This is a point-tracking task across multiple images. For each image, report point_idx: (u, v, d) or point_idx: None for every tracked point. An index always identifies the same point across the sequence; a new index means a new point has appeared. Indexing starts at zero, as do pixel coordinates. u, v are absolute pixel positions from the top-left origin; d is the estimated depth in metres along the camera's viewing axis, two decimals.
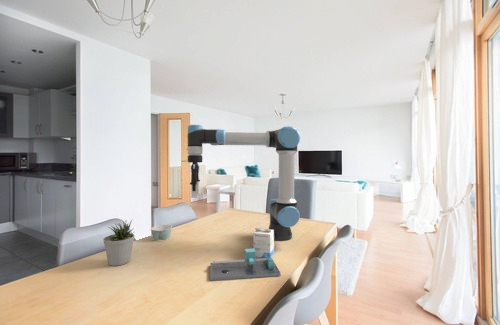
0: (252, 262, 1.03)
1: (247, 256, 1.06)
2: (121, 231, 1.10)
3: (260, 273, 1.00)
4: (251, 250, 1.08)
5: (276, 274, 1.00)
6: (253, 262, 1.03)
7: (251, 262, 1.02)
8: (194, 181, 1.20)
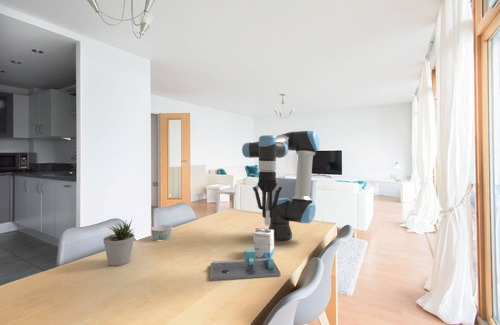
0: (252, 262, 1.03)
1: (247, 256, 1.06)
2: (121, 231, 1.10)
3: (260, 273, 1.00)
4: (251, 250, 1.08)
5: (276, 274, 1.00)
6: (253, 262, 1.03)
7: (251, 262, 1.02)
8: (259, 206, 1.08)
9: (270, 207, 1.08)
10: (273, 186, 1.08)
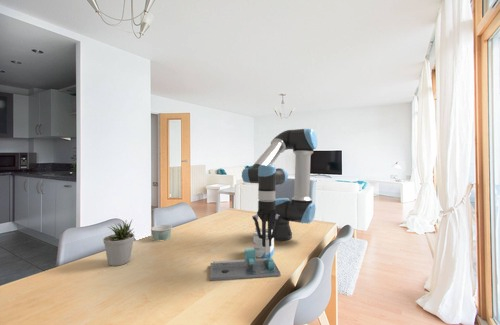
0: (252, 262, 1.03)
1: (247, 256, 1.06)
2: (121, 231, 1.10)
3: (260, 273, 1.00)
4: (251, 250, 1.08)
5: (276, 274, 1.00)
6: (253, 262, 1.03)
7: (251, 262, 1.02)
8: None
9: (269, 236, 1.08)
10: (273, 215, 1.08)
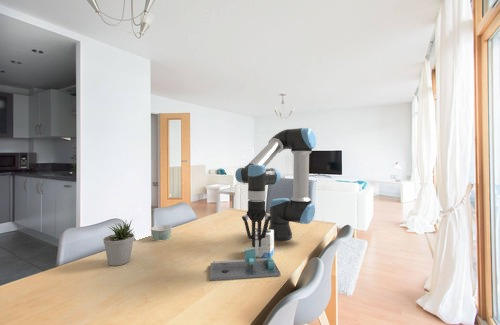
0: (252, 262, 1.03)
1: (247, 256, 1.06)
2: (121, 231, 1.10)
3: (260, 273, 1.00)
4: (251, 250, 1.08)
5: (276, 274, 1.00)
6: (253, 262, 1.03)
7: (251, 262, 1.02)
8: None
9: (259, 237, 1.07)
10: (262, 215, 1.08)
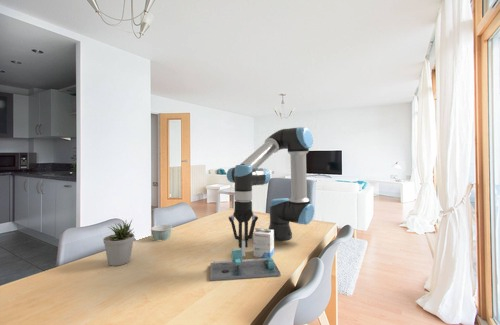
0: (238, 263, 1.02)
1: (233, 257, 1.05)
2: (121, 231, 1.10)
3: (260, 273, 1.00)
4: (238, 250, 1.07)
5: (276, 274, 1.00)
6: (239, 263, 1.02)
7: (237, 263, 1.02)
8: (235, 236, 1.07)
9: (246, 237, 1.06)
10: (249, 216, 1.07)
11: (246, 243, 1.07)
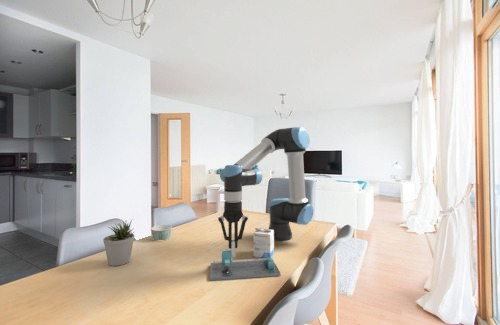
0: (227, 264, 1.01)
1: (223, 257, 1.04)
2: (121, 231, 1.10)
3: (260, 273, 1.00)
4: (228, 251, 1.07)
5: (276, 274, 1.00)
6: (228, 264, 1.01)
7: (226, 264, 1.01)
8: None
9: (236, 238, 1.06)
10: (239, 216, 1.06)
11: (236, 244, 1.06)
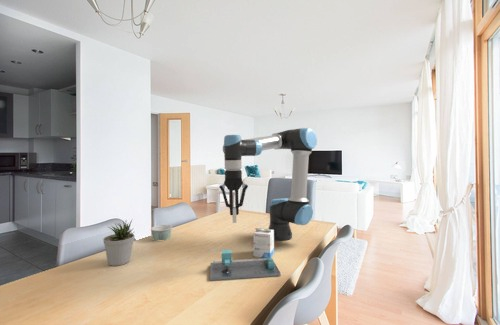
0: (227, 264, 1.01)
1: (223, 257, 1.04)
2: (121, 231, 1.10)
3: (260, 273, 1.00)
4: (228, 251, 1.07)
5: (276, 274, 1.00)
6: (228, 264, 1.01)
7: (226, 264, 1.01)
8: (226, 204, 1.11)
9: (236, 205, 1.11)
10: (239, 184, 1.11)
11: (237, 210, 1.11)
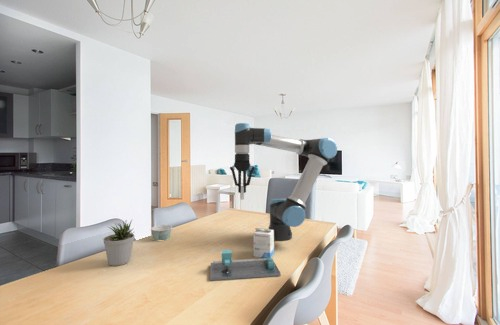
0: (227, 264, 1.01)
1: (223, 257, 1.04)
2: (121, 231, 1.10)
3: (260, 273, 1.00)
4: (228, 251, 1.07)
5: (276, 274, 1.00)
6: (228, 264, 1.01)
7: (226, 264, 1.01)
8: (235, 183, 1.28)
9: (244, 184, 1.28)
10: (247, 166, 1.28)
11: (244, 189, 1.28)
